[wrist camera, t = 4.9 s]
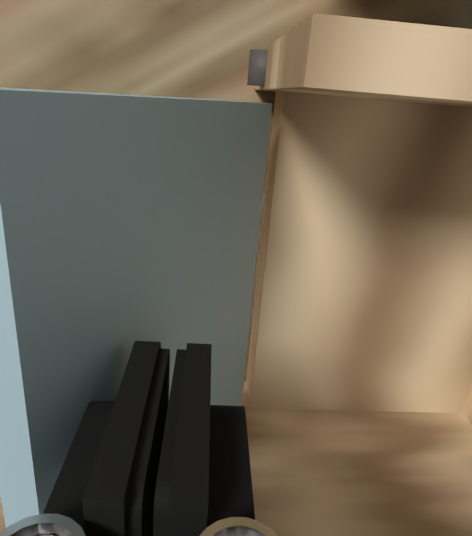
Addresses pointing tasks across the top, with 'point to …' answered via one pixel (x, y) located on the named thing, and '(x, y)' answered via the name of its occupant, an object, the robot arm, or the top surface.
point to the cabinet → (364, 282)
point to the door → (116, 257)
